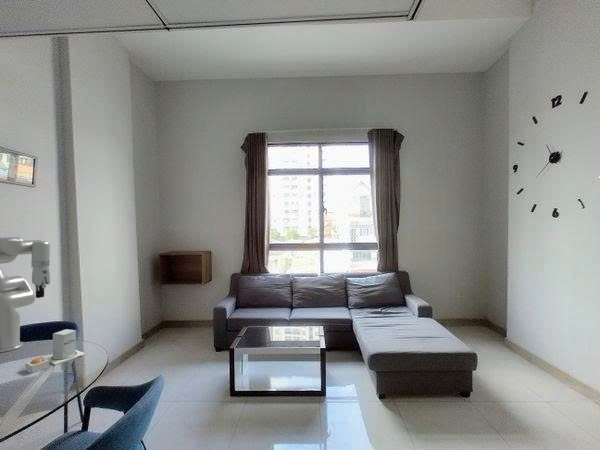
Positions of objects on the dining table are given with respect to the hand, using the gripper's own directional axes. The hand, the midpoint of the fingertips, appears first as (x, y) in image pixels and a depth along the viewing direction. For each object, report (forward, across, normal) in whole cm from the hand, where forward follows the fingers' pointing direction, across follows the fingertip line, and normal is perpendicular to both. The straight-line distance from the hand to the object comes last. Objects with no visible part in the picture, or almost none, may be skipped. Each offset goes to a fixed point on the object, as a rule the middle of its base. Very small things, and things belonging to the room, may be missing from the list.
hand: (39, 297), depth 166 cm
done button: (+30, -18, +7) cm, 36 cm away
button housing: (+31, -18, +7) cm, 37 cm away
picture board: (+31, -15, -6) cm, 35 cm away
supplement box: (+30, -15, -6) cm, 34 cm away
